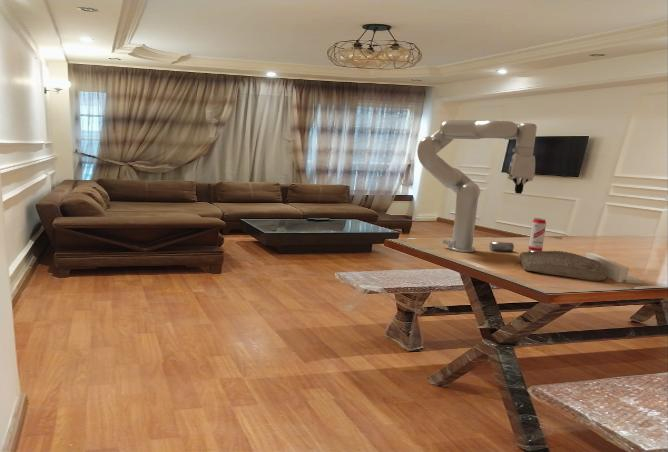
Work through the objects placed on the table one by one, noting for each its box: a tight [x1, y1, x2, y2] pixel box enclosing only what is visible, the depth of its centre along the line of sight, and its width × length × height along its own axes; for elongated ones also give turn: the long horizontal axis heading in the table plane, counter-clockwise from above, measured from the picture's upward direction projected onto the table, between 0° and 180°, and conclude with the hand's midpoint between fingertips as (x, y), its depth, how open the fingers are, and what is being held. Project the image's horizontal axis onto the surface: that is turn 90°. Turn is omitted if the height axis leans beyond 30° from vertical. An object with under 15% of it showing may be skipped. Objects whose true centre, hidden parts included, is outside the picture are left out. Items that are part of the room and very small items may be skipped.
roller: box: [489, 241, 515, 253], centre depth 216 cm, size 10×4×4 cm
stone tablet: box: [519, 250, 608, 282], centre depth 184 cm, size 20×8×30 cm
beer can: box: [528, 217, 547, 251], centre depth 221 cm, size 6×6×16 cm
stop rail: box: [585, 252, 644, 285], centre depth 185 cm, size 10×24×6 cm, turn 0°
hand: (518, 193), depth 201 cm, fingers closed
